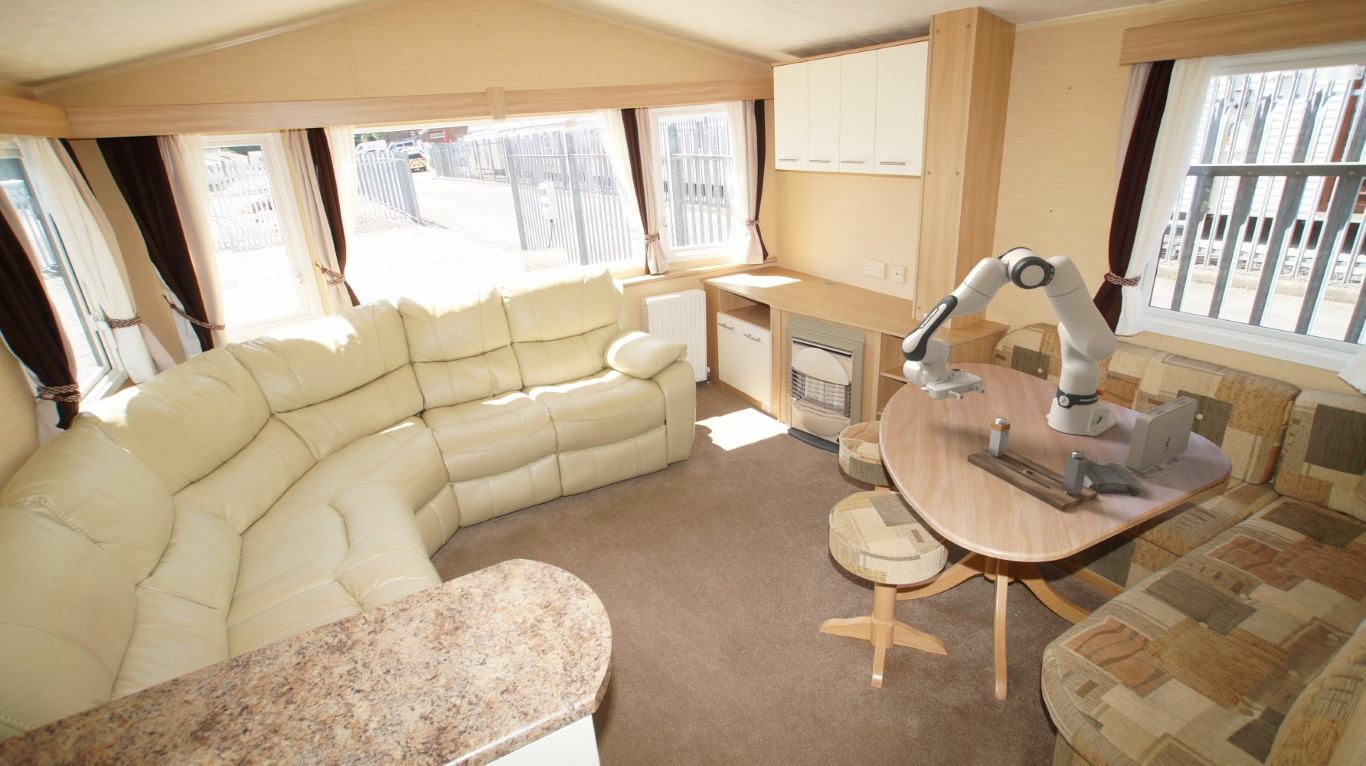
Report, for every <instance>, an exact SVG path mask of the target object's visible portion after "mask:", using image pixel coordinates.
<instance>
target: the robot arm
mask: <svg viewBox="0 0 1366 766" xmlns="http://www.w3.org/2000/svg"><path fill="white" fill-rule="evenodd" d="M1009 283H1013V284H1014V285H1015V286H1016V287H1018V288H1020V289H1024V290H1034V289H1039V288H1041V287H1043V289H1044V291H1045V293H1046V296H1047V298H1048V301H1049V303H1050V305H1051V308H1052V309H1053V311H1054V314H1055V315H1056V317H1057V318H1058V320H1059V323H1058V324H1057V333H1058V336H1059V340H1060V352H1061V371H1060V378H1059V379H1060V380H1059V384H1058V386H1057V387H1056V392H1055V393H1056V394H1055V397H1054V398H1053V400H1052V404H1051V407H1050V411H1049V413H1047V414H1046V416H1045V417H1046V419H1047V424H1048V426H1049V427H1050V428H1052V429H1053V430H1056V431H1058V432H1061V433H1065V434H1069V435H1070V434H1071V435H1080V436H1081V435H1083V436H1090V437H1097V436H1099V435H1100V434H1102V433H1104V432H1106V431H1108V430H1109V429H1111V428H1112V427H1114V426H1115V425H1116V420H1114V419H1113V418H1111V417H1110V416H1109V415H1110V409H1109V407H1108V406H1107V405H1106V404H1104V403H1103V402H1102V401H1101V400H1099V396H1102V397H1103V396H1104V394H1105V390H1104V389H1100V388H1097V387H1098V384H1099V378H1100V377H1099V376H1100V373H1101V371H1100V366H1099V363H1098V360H1105V359H1107V358H1110V357H1111V356H1113V355H1114V354H1115V352H1116V351H1117V350H1118V347H1119V340H1118V337H1117V336H1116V334H1115V333H1114V332H1113V330H1112V329H1111V327H1110V326H1109V324H1108V323H1107V321H1106V319H1105V318H1104V316H1103V315H1102V313H1101V312H1100V310H1099V309H1098V307H1097V306H1096V304H1095V303H1094V300H1093V298H1092V296H1091V294H1090V292H1089V290H1088V287H1087V285H1086V283H1085V281H1084V279H1083V277H1082V274H1081V273H1080V271H1079V269H1078V267H1077V266H1076V265H1075V263H1074V262H1073V260H1072V259H1071V258H1070V257H1069V256H1066V255H1054V256H1051V257H1049V258H1043V257H1042V256H1040V255H1039V254H1038V253H1036V251H1034V250H1032V249H1030V248H1028V247H1025V246H1024V247H1023V246H1017V247H1013V248H1012V249H1009V250H1007V251H1006V252H1004V254H1002V255H1000V256H999V255H998V257H997V258H996V257H985V258H983V259H980V261H979V262H978V263H977V264H976V265H975V266H974V267H973V269H971V271H969V273H968V274H967V275H966V277H965V278H964V280H963V281H962V282H961V283H960V285H959V286H957V288H956V289H955V290H954V291H952V293H950V294H949V295H946V296H945V297H943V298H942V299H941V300H940V301H939V302H938V303H937V304H936V305H935V306H934V307H933V308H932V310H930V312H929V313H928V314H927V315H926V316H925V317H924V319H922V321H921V322H920V323H919V325H917V327H915V329H913V330H912V331H910V332H909V333H908V334H907V335H905V337H904V338H903V340H902V342H901V346H900V347H901V348H900V349H901V352H902V355H903V357H904V358H905V360H906V361H905V362H904V364H903V369H902V372H903V375H904V376H905V378H906V379H907V380H908V381H910V382H911V383H913V384H915V385H917V386H919V387H920V390H921V391H922V392H925V394H926V395H927V396H929V397H931V398H932V399H934V400H938V401H941V400H946V399H954V400H958V401H960V400H963V399H964V394H968V393H972V392H976V393H977V394H979V395H983V394H985V392H986V389H985V388H984V387H983V384H984V381H983V379H982V377H980V376H978V375H975V374H973V373H971V372H966V371H964V369H962V368H945V367H946V365H947V364H948V362H949V359H950V357H951V351H952V350H951V346H950V344H949V343H948V342H947V340H944V339H940V338H938V337H933V336H934V335H935V334H937V332H938V331H939V329H941V327H942V326H943V325H944V324H945V323H946V322H948V321H949V320H950V319H953V318H955V317H960V316H970V315H975V314H978V313H980V312H982V311H984V309H985V308H987V306H988V305H989V304H990V303H991V302H992V300H993V299H994V297H995V296H996V294H997V293H998V292H999V290H1000V289H1001V288H1002V287H1003V286H1005V285H1007V284H1009Z"/></svg>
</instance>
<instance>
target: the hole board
mask: <svg viewBox="0 0 1366 766" xmlns="http://www.w3.org/2000/svg"><path fill="white" fill-rule="evenodd" d="M967 462H969V463H971V464H973V465H975V466H976V467H978V468H981V469H982V470H983V471H986V472H988V473H990V474H991V475H993V476H996V477H997V478H999V479H1001V480H1003V482H1004V481H1005V482H1006V483H1008V484H1010V485H1012V486H1014V487H1015V488H1017V489H1019V490H1022V491H1023V492H1025V493H1028V494H1029V495H1031V497H1032V496H1033V497H1035V498H1036V499H1038V500H1040V501H1042V502H1043V503H1046V504H1047V505H1049V506H1051V507H1053V508H1055V509H1057V510H1058V511H1060V512H1064V511H1067V510H1070V509H1072V508H1074V507H1078V506H1081V505H1083V504H1086V503H1087V502H1091V501H1093V500H1096V499H1097V498H1098V494H1099V493H1098V492H1096V491H1094V490H1092V489H1090V488H1088V487H1086V486H1084V485H1083V488H1082V492H1080V493H1077V494H1074V495H1072V494H1069V493H1068V492H1066V491H1064V490H1062V489H1061V488H1062V482H1063V477H1064V474H1061V473H1058V472H1056V471H1055V470H1053V469H1050V468H1048V467H1046V466H1044V465H1041V464H1040V463H1038V462H1036V461H1033V460H1031V459H1029V458H1027V457H1025V456H1023V455H1021V454H1019V453H1017V452H1015V451H1013V450H1010V449H1009V448H1007V450H1006V454H1005V455H1002V456H999V457H997V456H995V455H993V454H991V453H989V448H988V449H984V450H980V451H978V452H975V453H971V454H968V455H967Z"/></svg>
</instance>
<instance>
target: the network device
mask: <svg viewBox="0 0 1366 766" xmlns="http://www.w3.org/2000/svg"><path fill="white" fill-rule="evenodd" d="M1198 404H1199V400H1198V399H1195V398H1191V397H1188V396H1184V395H1182V396H1179V397H1177V398H1175V399H1173V400H1170V401H1168V402H1165V403H1163V404H1160V405H1158V406H1156V407H1153V408H1151V409H1149V410H1146V411H1143V412H1141V413H1139V414H1138V415H1137V416H1136V419H1135V422H1134V427H1133V430H1132V431H1133V432H1132V437H1131V441H1130V445H1129V450H1128V455H1127V459H1126V464H1125V467H1126V468H1125V469H1127V470H1129V472H1130V471H1131V472H1130V473H1132V474H1136V475H1138V476H1140V475H1141V476H1140V477H1144V478H1147V477H1148V479H1156V478H1159V477H1161V476H1162V474H1163V475H1165V474H1166V472H1167V473H1169V472H1171V471H1173V470H1174V469H1173V468H1175V467H1177V466H1179V467H1180V465H1181V464H1182V465H1183V464H1184V461H1183V460H1184V459H1183V460H1182V459H1181V458H1179V457H1177V456H1180V455H1181V454H1183V453H1185V452H1186V450H1187V447H1188V444H1189V439H1190V436H1191V432H1192V429H1193V424H1194V421H1195V416H1196V412H1197V407H1198ZM1173 459H1175V460H1174V461H1176V460H1177V461H1176V463H1174V464H1172V465H1166V464H1165V462H1167V461H1169V460H1173ZM1178 461H1179V462H1178ZM1182 465H1181V466H1182ZM1154 467H1155V468H1154ZM1153 468H1154V469H1156V468H1157V470H1159V469H1160V470H1159V471H1157V472H1156V473H1153V474H1148V473H1145V472H1146V471H1149V470H1151V469H1153ZM1177 468H1178V467H1177ZM1172 469H1173V470H1172ZM1175 469H1176V468H1175ZM1170 470H1171V471H1170ZM1168 471H1169V472H1168ZM1164 473H1165V474H1164ZM1160 475H1161V476H1160ZM1158 476H1159V477H1158Z"/></svg>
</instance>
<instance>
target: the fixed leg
mask: <svg viewBox="0 0 1366 766" xmlns="http://www.w3.org/2000/svg"><path fill="white" fill-rule="evenodd" d="M1065 460H1066V461H1065V464H1064V465H1065V466H1064V471H1063V476H1064V477H1063V482H1062V488H1061V489H1062V490H1064V491H1066V492H1068V493H1069V494H1072V495H1074V494H1077V493H1080V492H1082V488H1083V483H1084V477H1085V472H1086V467H1087V461H1088V460H1089V457H1088V456H1085V452H1084V451H1082V450H1077V449H1076V450H1074V449H1073V450H1072V451H1071V453H1070V454H1067V455H1066V459H1065Z"/></svg>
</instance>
